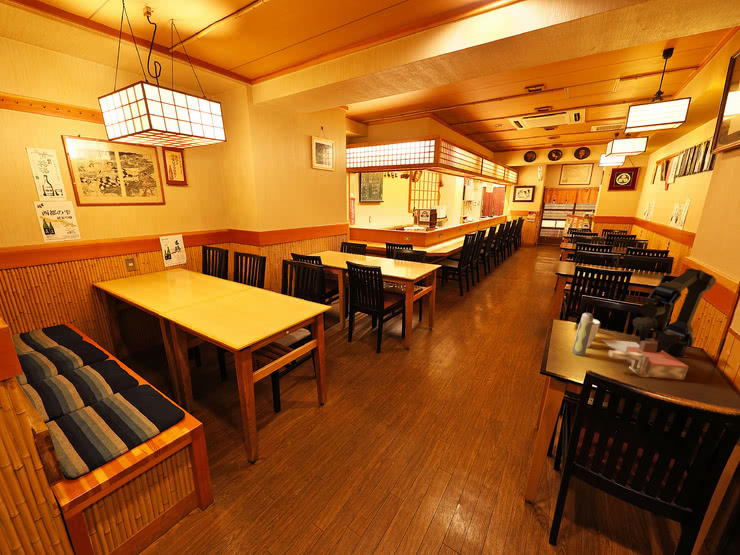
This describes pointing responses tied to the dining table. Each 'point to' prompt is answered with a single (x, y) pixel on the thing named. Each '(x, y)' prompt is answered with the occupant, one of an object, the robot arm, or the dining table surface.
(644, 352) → the lid
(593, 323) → the can
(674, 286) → the robot arm
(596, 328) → the white cup
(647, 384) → the dining table surface
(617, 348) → the mat
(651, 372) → the toolbox
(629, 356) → the tan wooden bar
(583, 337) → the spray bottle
